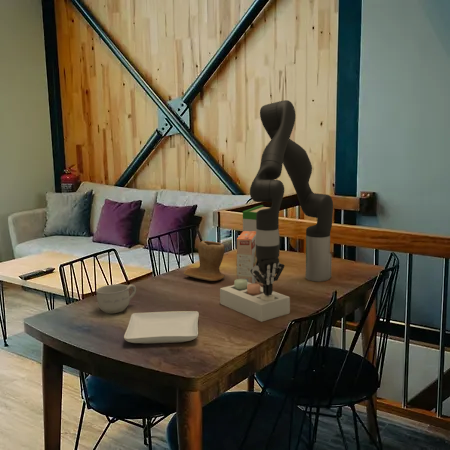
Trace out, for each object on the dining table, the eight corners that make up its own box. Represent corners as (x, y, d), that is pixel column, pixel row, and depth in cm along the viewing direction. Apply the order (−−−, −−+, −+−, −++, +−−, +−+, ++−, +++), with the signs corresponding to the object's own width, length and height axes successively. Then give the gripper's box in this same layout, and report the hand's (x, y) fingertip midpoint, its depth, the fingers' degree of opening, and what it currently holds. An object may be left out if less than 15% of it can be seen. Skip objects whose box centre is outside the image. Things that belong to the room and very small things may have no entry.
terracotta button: (254, 290, 194) (254, 282, 193) (263, 293, 190) (263, 285, 190) (244, 292, 191) (244, 285, 191) (252, 296, 188) (252, 288, 187)
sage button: (242, 285, 199) (241, 278, 199) (249, 288, 196) (249, 280, 195) (231, 287, 197) (231, 280, 196) (239, 291, 193) (239, 283, 193)
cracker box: (253, 296, 204) (252, 238, 200) (236, 295, 206) (235, 238, 202) (258, 284, 218) (258, 230, 214) (243, 283, 219) (242, 230, 215)
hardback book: (261, 258, 257) (261, 205, 252) (277, 259, 253) (276, 206, 248) (243, 267, 242) (242, 211, 237) (259, 269, 238) (258, 212, 233)
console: (247, 296, 204) (247, 281, 203) (289, 313, 187) (289, 297, 186) (220, 303, 197) (219, 288, 196) (261, 321, 180) (261, 305, 179)
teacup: (102, 318, 185) (100, 294, 184) (93, 308, 195) (92, 286, 193) (143, 310, 192) (142, 287, 190) (133, 301, 201) (131, 279, 200)
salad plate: (132, 322, 183) (131, 311, 182) (199, 319, 183) (198, 309, 183) (123, 349, 162) (122, 337, 161) (198, 346, 163) (198, 335, 162)
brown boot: (231, 277, 227) (230, 240, 224) (212, 285, 218) (211, 246, 215) (202, 271, 237) (201, 236, 234) (182, 278, 228) (181, 241, 225)
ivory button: (268, 300, 189) (268, 293, 188) (277, 304, 185) (277, 296, 185) (258, 303, 186) (258, 295, 186) (266, 307, 183) (266, 299, 182)
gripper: (275, 237, 189) (275, 288, 192) (243, 243, 181) (244, 296, 184) (291, 241, 183) (290, 293, 186) (259, 247, 175) (259, 302, 178)
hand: (267, 294), depth 185 cm, fingers closed
